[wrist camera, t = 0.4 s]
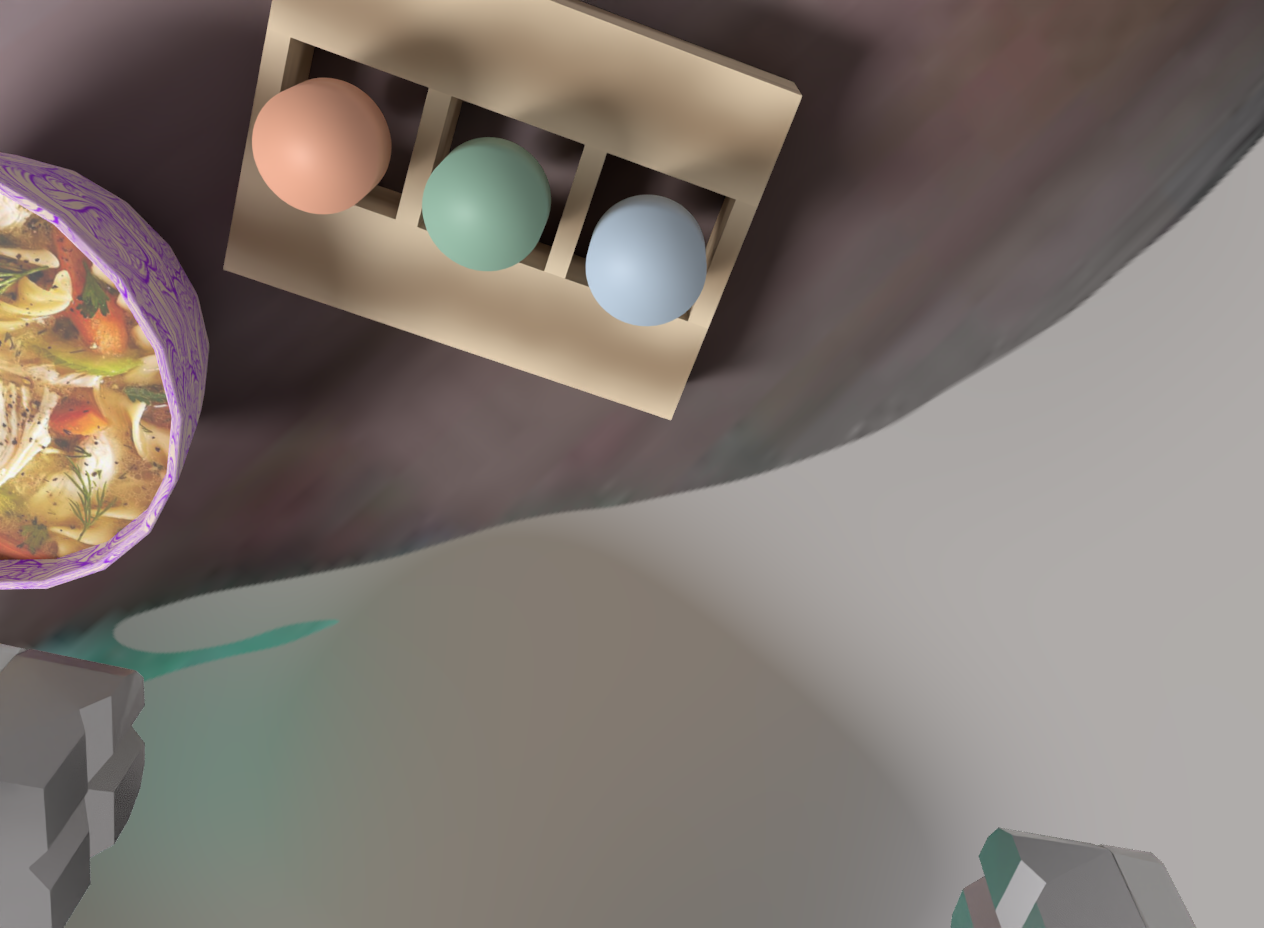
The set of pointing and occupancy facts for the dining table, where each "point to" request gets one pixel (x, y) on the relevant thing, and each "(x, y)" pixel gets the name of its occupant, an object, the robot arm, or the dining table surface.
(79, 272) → the bowl of food
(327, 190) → the button terracotta
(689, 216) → the button slate
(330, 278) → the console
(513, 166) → the button green
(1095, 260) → the dining table surface
